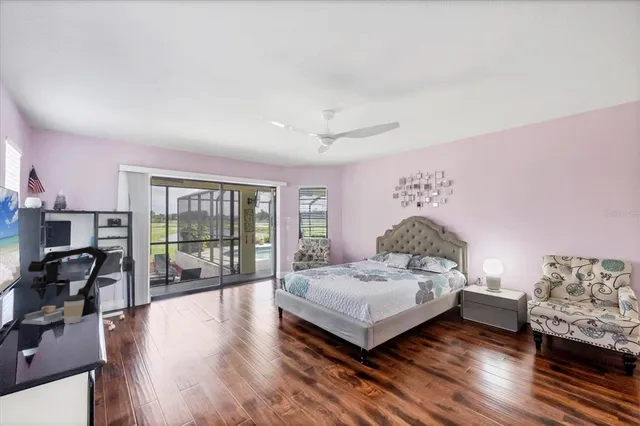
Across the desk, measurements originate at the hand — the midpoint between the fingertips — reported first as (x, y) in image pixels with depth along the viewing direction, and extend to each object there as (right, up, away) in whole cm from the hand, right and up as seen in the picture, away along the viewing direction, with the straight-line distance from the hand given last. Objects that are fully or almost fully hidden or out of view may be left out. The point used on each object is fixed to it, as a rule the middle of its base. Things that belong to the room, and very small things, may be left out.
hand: (49, 297), depth 167 cm
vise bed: (+7, -10, -10) cm, 16 cm away
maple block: (0, -11, -1) cm, 11 cm away
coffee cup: (+23, -11, -11) cm, 28 cm away
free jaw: (0, -8, -10) cm, 13 cm away
